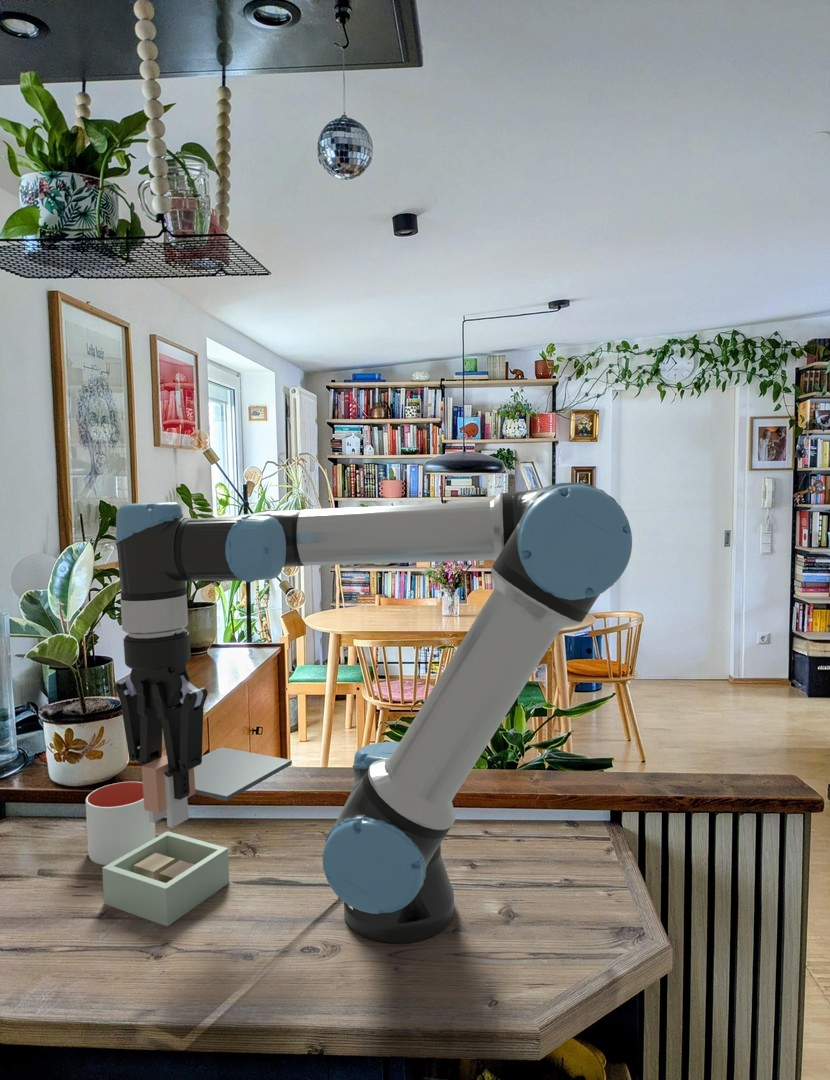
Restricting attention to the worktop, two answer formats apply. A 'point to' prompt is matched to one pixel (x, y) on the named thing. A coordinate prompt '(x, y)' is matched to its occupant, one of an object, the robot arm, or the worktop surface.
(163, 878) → the part
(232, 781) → the lid
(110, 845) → the cup
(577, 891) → the worktop surface
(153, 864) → the part
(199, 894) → the tub
